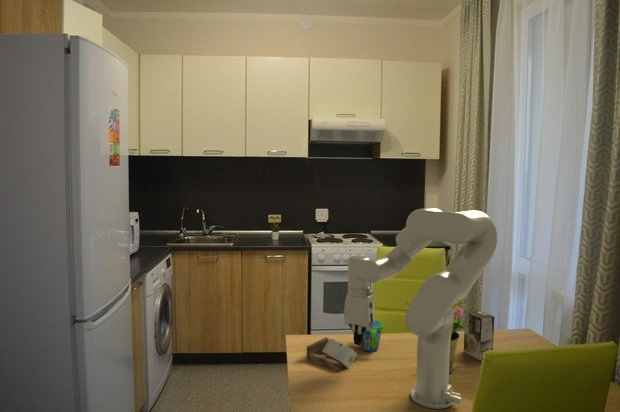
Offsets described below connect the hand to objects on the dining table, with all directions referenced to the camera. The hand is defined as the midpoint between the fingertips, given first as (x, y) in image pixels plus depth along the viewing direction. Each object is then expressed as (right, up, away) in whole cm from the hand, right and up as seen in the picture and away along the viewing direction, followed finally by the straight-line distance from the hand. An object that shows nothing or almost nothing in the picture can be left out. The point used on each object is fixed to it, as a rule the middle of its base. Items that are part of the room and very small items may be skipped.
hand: (358, 343), depth 149 cm
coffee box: (+47, -9, +14) cm, 50 cm away
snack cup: (+6, -8, +19) cm, 21 cm away
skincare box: (-2, -6, +1) cm, 6 cm away
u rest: (-8, -9, +7) cm, 14 cm away
